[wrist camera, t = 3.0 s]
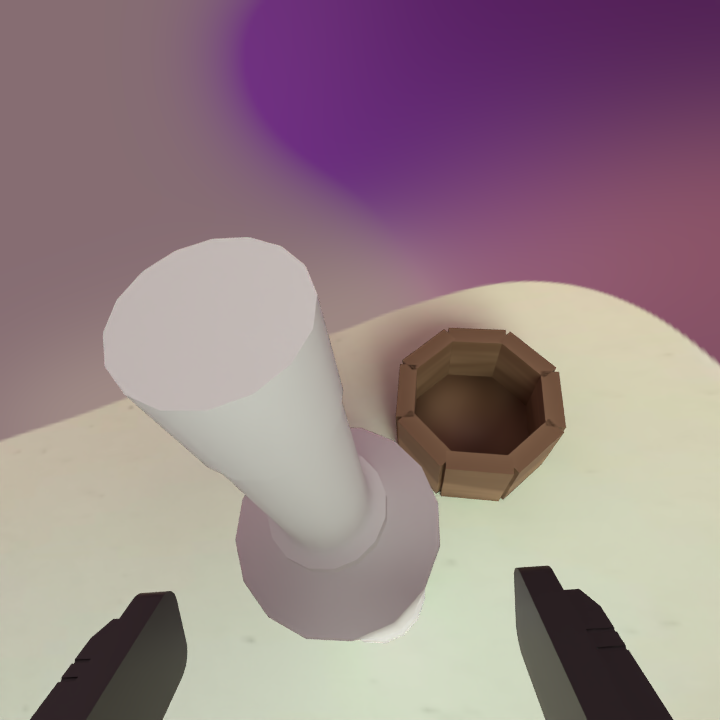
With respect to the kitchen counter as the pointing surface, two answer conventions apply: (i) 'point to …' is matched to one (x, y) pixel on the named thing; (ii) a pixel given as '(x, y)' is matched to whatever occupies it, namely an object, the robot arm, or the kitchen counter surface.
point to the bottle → (278, 437)
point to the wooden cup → (478, 411)
